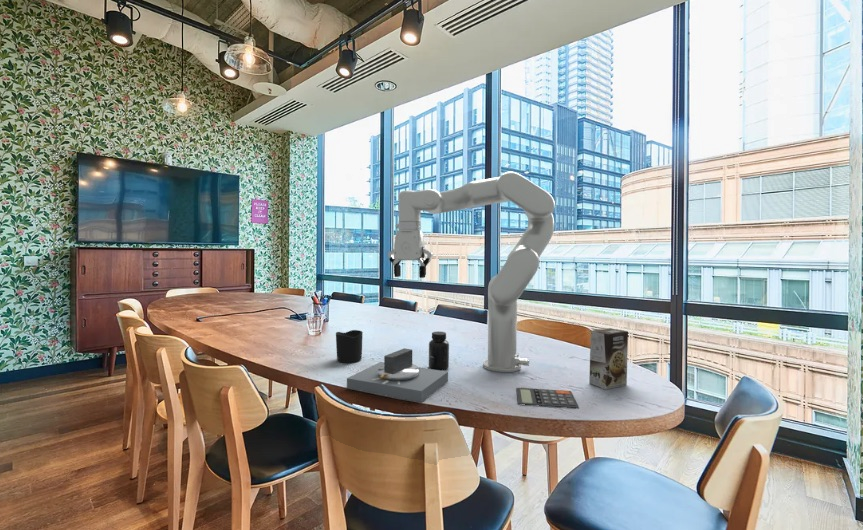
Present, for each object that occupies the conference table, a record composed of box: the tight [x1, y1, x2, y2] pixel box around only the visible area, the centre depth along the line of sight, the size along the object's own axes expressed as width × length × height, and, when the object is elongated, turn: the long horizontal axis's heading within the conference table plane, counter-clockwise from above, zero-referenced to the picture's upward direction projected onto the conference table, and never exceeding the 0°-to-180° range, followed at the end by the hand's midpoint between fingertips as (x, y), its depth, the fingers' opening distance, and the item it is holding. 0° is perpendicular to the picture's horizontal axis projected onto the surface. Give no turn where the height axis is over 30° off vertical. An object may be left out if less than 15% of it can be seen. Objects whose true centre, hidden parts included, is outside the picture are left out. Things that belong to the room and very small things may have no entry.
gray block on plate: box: [378, 348, 420, 381], centre depth 116 cm, size 14×12×6 cm
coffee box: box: [588, 327, 629, 390], centre depth 118 cm, size 9×6×16 cm
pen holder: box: [335, 329, 363, 364], centre depth 143 cm, size 9×9×10 cm
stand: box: [346, 361, 449, 403], centre depth 118 cm, size 24×18×3 cm
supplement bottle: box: [428, 331, 450, 371], centre depth 134 cm, size 7×7×12 cm
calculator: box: [516, 387, 580, 409], centre depth 108 cm, size 12×1×15 cm
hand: (409, 277), depth 137 cm, fingers open, 9 cm apart
